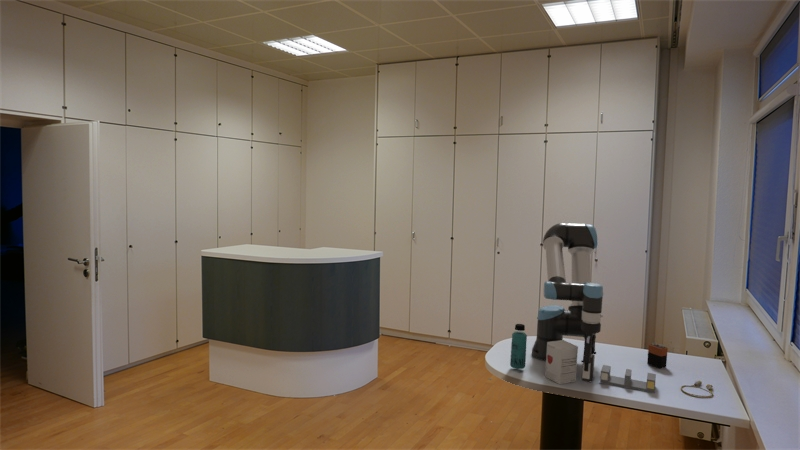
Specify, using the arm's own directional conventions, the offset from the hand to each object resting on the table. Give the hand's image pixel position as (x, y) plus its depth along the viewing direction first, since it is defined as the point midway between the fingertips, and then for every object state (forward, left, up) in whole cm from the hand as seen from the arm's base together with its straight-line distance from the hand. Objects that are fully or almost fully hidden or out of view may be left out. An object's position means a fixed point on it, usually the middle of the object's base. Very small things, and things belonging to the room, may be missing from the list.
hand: (587, 373), depth 218 cm
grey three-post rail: (+15, +3, -2) cm, 15 cm away
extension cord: (+41, +11, -3) cm, 42 cm away
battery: (+25, +34, -3) cm, 42 cm away
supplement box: (-10, -5, -3) cm, 12 cm away
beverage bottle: (-28, -4, -3) cm, 28 cm away
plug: (0, 0, -2) cm, 2 cm away
